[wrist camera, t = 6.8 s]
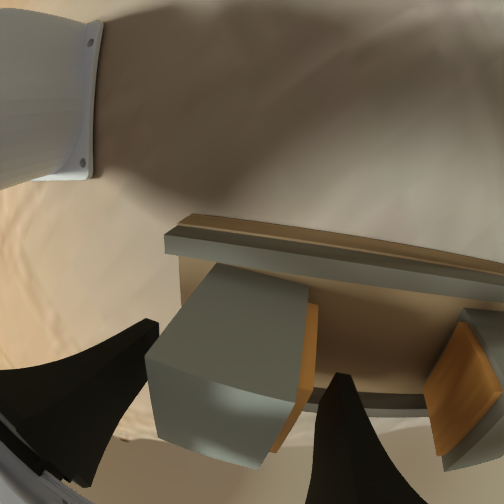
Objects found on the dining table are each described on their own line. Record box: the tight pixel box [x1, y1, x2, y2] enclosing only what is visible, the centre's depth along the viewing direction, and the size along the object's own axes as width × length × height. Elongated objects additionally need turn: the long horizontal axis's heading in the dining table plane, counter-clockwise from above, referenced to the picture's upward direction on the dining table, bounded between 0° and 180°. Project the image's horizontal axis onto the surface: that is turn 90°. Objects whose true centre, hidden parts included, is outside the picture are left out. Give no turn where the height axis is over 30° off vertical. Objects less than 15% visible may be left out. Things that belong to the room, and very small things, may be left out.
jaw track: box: [164, 214, 504, 472], centre depth 10 cm, size 9×18×8 cm, turn 86°
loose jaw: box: [145, 262, 318, 470], centre depth 10 cm, size 5×4×6 cm
